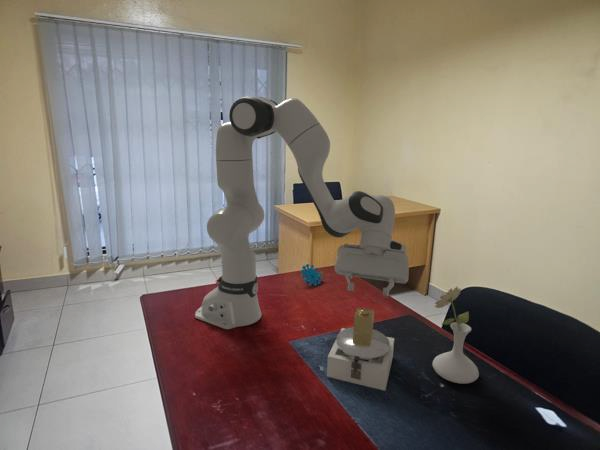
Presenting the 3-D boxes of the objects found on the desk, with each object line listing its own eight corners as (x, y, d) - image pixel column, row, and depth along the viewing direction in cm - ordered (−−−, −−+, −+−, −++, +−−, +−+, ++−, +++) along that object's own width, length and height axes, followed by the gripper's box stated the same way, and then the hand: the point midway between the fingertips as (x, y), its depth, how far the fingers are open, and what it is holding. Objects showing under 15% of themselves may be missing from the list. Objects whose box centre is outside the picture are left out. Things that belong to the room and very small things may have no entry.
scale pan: (327, 372, 95) (328, 353, 94) (342, 340, 110) (343, 323, 108) (383, 385, 90) (384, 365, 89) (391, 350, 105) (392, 332, 104)
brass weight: (352, 343, 98) (354, 312, 96) (355, 334, 102) (357, 305, 100) (369, 346, 97) (372, 315, 95) (372, 337, 101) (374, 307, 99)
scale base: (326, 377, 97) (327, 357, 95) (341, 346, 111) (341, 328, 109) (385, 391, 92) (386, 370, 90) (392, 357, 106) (394, 338, 104)
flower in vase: (461, 359, 105) (473, 276, 99) (487, 385, 95) (502, 294, 88) (418, 363, 103) (427, 279, 97) (440, 391, 92) (451, 298, 86)
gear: (307, 286, 148) (298, 264, 153) (299, 292, 152) (291, 270, 157) (328, 283, 155) (319, 262, 159) (320, 289, 159) (312, 268, 163)
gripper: (338, 238, 108) (328, 282, 101) (411, 246, 101) (406, 294, 95) (340, 248, 113) (331, 291, 106) (411, 256, 107) (405, 302, 100)
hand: (367, 292), depth 101 cm, fingers open, 8 cm apart
